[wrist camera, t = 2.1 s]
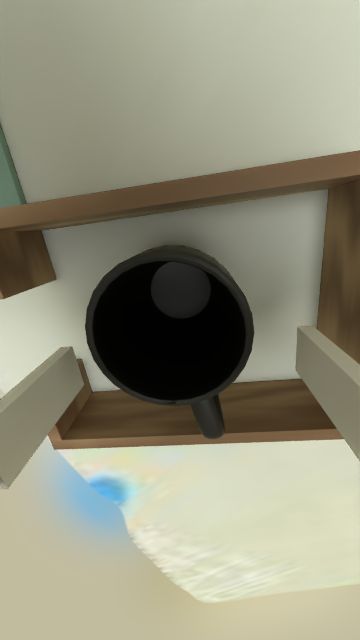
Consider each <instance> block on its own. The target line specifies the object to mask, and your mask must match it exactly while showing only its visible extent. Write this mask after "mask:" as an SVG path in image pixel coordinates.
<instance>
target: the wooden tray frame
mask: <svg viewBox="0 0 360 640" xmlns="http://www.w3.org/2000/svg"><path fill="white" fill-rule="evenodd" d="M328 188H329V194H328V205H327V217H326V229H325V240H324V252H323V264H322V275H321V287H320V299H319V310H318V322H317V330H318V331H320V332H321V333H322V334H323V335H324V336H326V337H327V338H328V339H329V340H331V341H332V342H333V343H334V344H335V345H337V346H338V347H339V348H340V349H341V350H343V351H344V352H345V353H346V354H348V355H349V356H350V357H351V358H352V359H354V360H355V361H356V362H357V363H358V364H360V150H359V151H353V152H347V153H341V154H334V155H328V156H322V157H316V158H309V159H303V160H297V161H291V162H285V163H278V164H272V165H266V166H260V167H253V168H247V169H241V170H235V171H229V172H222V173H216V174H210V175H204V176H197V177H191V178H185V179H179V180H173V181H166V182H160V183H154V184H148V185H141V186H135V187H129V188H123V189H116V190H110V191H104V192H98V193H92V194H85V195H79V196H73V197H67V198H60V199H54V200H48V201H42V202H36V203H29V204H23V205H17V206H11V207H4V208H0V299H5V298H8V297H11V296H13V295H16V294H19V293H21V292H24V291H27V290H29V289H32V288H35V287H37V286H40V285H43V284H45V283H48V282H51V281H53V280H56V277H55V274H54V270H53V267H52V264H51V261H50V258H49V255H48V252H47V248H46V245H45V242H44V239H43V236H42V233H41V230H48V229H54V228H61V227H68V226H75V225H82V224H89V223H96V222H102V221H109V220H116V219H123V218H130V217H137V216H143V215H150V214H157V213H164V212H171V211H178V210H184V209H191V208H198V207H205V206H212V205H219V204H226V203H232V202H239V201H246V200H253V199H260V198H267V197H273V196H280V195H287V194H294V193H301V192H308V191H314V190H321V189H328ZM77 363H78V366H79V369H80V373H81V376H82V379H83V382H84V386H83V387H82V388H81V390H80V391H79V393H78V394H77V395H76V397H75V398H74V399H73V401H72V402H71V403H70V405H69V406H68V408H67V409H66V410H65V412H64V413H63V414H62V416H61V417H60V418H59V420H58V421H57V423H56V424H55V425H54V427H53V428H52V429H51V431H50V432H49V433H48V436H49V439H50V441H51V443H52V446H53V448H54V450H56V449H84V448H111V447H139V446H166V445H194V444H222V443H249V442H277V441H305V440H332V439H344V438H343V436H342V435H341V434H340V432H339V431H338V429H337V428H336V427H335V425H334V424H333V422H332V421H331V419H330V418H329V417H328V415H327V414H326V412H325V411H324V410H323V408H322V407H321V405H320V404H319V402H318V401H317V400H316V398H315V397H314V395H313V394H312V393H311V391H310V390H309V388H308V387H307V385H306V384H305V383H304V381H303V380H302V379H293V380H278V381H262V382H246V383H231V384H230V385H229V386H228V387H227V388H226V389H225V390H223V391H222V392H220V393H218V394H219V399H220V404H221V408H222V414H223V419H224V425H225V434H224V435H223V436H222V437H221V438H218V439H207V438H205V437H204V436H203V435H202V433H201V432H200V429H199V427H198V425H197V422H196V419H195V416H194V414H193V411H192V408H191V405H190V404H189V405H180V406H168V405H158V404H154V403H149V402H145V401H142V400H140V399H138V398H136V397H133V396H131V395H129V394H127V393H126V392H124V391H123V390H120V391H104V392H92V390H91V387H90V384H89V381H88V378H87V375H86V371H85V368H84V365H83V362H82V359H78V360H77Z"/></svg>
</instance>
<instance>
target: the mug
mask: <svg viewBox="0 0 360 640" xmlns="http://www.w3.org/2000/svg"><path fill="white" fill-rule="evenodd" d="M85 330H86V336H87V343H88V346H89V349H90V351H91V354H92V356H93V359H94V361H95V362H96V364H97V365H98V367H99V368H100V370H101V371H102V373H103V374H104V375H105V376H106V377H107V378H108V379H109V380H110V381H111V382H112V383H113V384H114V385H115V386H117V387H118V388H120V389H121V390H123V391H124V392H126V393H127V394H129V395H131V396H133V397H136V398H138V399H140V400H142V401H145V402H149V403H154V404H158V405H168V406H180V405H189V404H190V405H191V408H192V411H193V414H194V416H195V419H196V422H197V425H198V427H199V429H200V432H201V433H202V435H203V436H204V437H205V438H207V439H218V438H221V437H222V436H223V435H224V434H225V425H224V419H223V414H222V408H221V404H220V399H219V394H218V393H220V392H222V391H223V390H225V389H226V388H227V387H228V386H229V385H230V384H231V383H232V382H234V381H235V380H236V378H237V377H238V376H239V374H240V373H241V371H242V370H243V369H244V367H245V365H246V363H247V360H248V358H249V356H250V353H251V350H252V344H253V337H254V326H253V317H252V312H251V310H250V307H249V305H248V302H247V299H246V297H245V295H244V294H243V292H242V291H241V289H240V288H239V286H238V285H237V284H236V282H235V281H234V279H233V278H232V276H231V275H230V274H229V272H228V271H227V270H226V268H224V267H223V266H222V265H221V264H220V263H219V262H218V261H216V260H215V259H214V258H213V257H211V256H209V255H207V254H205V253H203V252H201V251H199V250H196V249H192V248H188V247H184V246H162V247H157V248H153V249H149V250H146V251H144V252H142V253H140V254H138V255H136V256H134V257H132V258H130V259H128V260H126V261H123V262H121V263H119V264H118V265H117V266H115V267H114V268H113V269H112V270H111V271H110V272H108V273H107V274H106V275H105V276H104V277H103V278H102V280H101V281H100V283H99V284H98V286H97V287H96V288H95V290H94V291H93V294H92V296H91V299H90V302H89V305H88V307H87V313H86V323H85Z"/></svg>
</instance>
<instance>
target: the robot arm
mask: <svg viewBox="0 0 360 640" xmlns="http://www.w3.org/2000/svg"><path fill="white" fill-rule="evenodd" d="M296 371H297V373H298V374H299V375H300V377H301V378H302V380H303V381H304V383H305V384H306V385H307V387H308V388H309V390H310V391H311V393H312V394H313V395H314V397H315V398H316V400H317V401H318V402H319V404H320V405H321V407H322V408H323V410H324V411H325V412H326V414H327V415H328V417H329V418H330V419H331V421H332V422H333V424H334V425H335V427H336V428H337V429H338V431H339V432H340V434H341V435H342V436H343V438H344V439H345V441H346V442H347V444H348V445H349V446H350V448H351V449H352V451H353V452H354V453H355V455H356V456H357V458H358V459H359V461H360V364H358V363H357V362H356V361H355V360H354V359H352V358H351V357H350V356H349V355H348V354H346V353H345V352H344V351H343V350H341V349H340V348H339V347H338V346H337V345H335V344H334V343H333V342H332V341H331V340H329V339H328V338H327V337H326V336H324V335H323V334H322V333H321V332H320V331H318V330H317V329H316V328H315V327H314V326H301V327H298V331H297V352H296ZM83 386H84V382H83V379H82V376H81V373H80V369H79V366H78V363H77V360H76V357H75V354H74V350H73V347H62V348H59V349H58V350H57V351H56V352H55V353H54V354H52V355H51V356H50V357H49V358H48V359H47V360H45V361H44V362H43V363H42V364H41V365H40V366H38V367H37V368H36V369H35V370H34V371H33V372H31V373H30V374H29V375H28V376H27V377H26V378H24V379H23V380H22V381H21V382H20V383H19V384H17V385H16V386H15V387H14V388H13V389H12V390H10V391H9V392H8V393H7V394H6V395H5V396H3V397H2V398H1V399H0V489H8V488H9V487H10V485H11V484H12V482H13V481H14V480H15V478H16V477H17V476H18V474H19V473H20V472H21V470H22V469H23V468H24V466H25V465H26V463H27V462H28V461H29V459H30V458H31V457H32V455H33V454H34V452H35V451H36V450H37V448H38V447H39V446H40V444H41V443H42V442H43V440H44V439H45V438H46V436H47V435H48V433H49V432H50V431H51V429H52V428H53V427H54V425H55V424H56V423H57V421H58V420H59V418H60V417H61V416H62V414H63V413H64V412H65V410H66V409H67V408H68V406H69V405H70V403H71V402H72V401H73V399H74V398H75V397H76V395H77V394H78V393H79V391H80V390H81V388H82V387H83Z"/></svg>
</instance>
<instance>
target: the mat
mask: <svg viewBox="0 0 360 640" xmlns="http://www.w3.org/2000/svg"><path fill="white" fill-rule="evenodd" d="M23 204H26V202H25V199H24V196H23V193H22V190H21V186H20V183H19V180H18V177H17V174H16V171H15V168H14V165H13V162H12V159H11V156H10V153H9V150H8V147H7V143H6V140H5V137H4V134H3V131H2V128H1V125H0V208H4V207H11V206H17V205H23Z"/></svg>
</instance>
